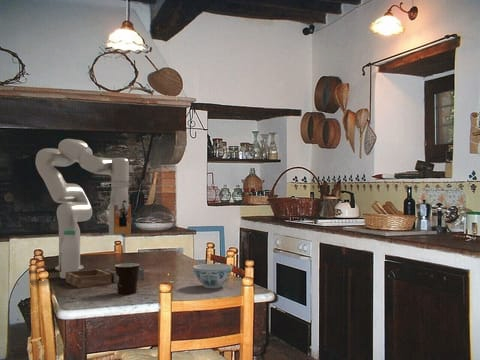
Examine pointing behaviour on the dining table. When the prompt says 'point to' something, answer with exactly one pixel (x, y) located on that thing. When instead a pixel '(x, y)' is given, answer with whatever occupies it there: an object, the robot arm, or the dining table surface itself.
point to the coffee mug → (127, 278)
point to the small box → (114, 221)
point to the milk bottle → (69, 254)
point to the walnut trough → (88, 278)
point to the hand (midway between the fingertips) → (119, 225)
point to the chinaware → (212, 274)
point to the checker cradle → (113, 274)
